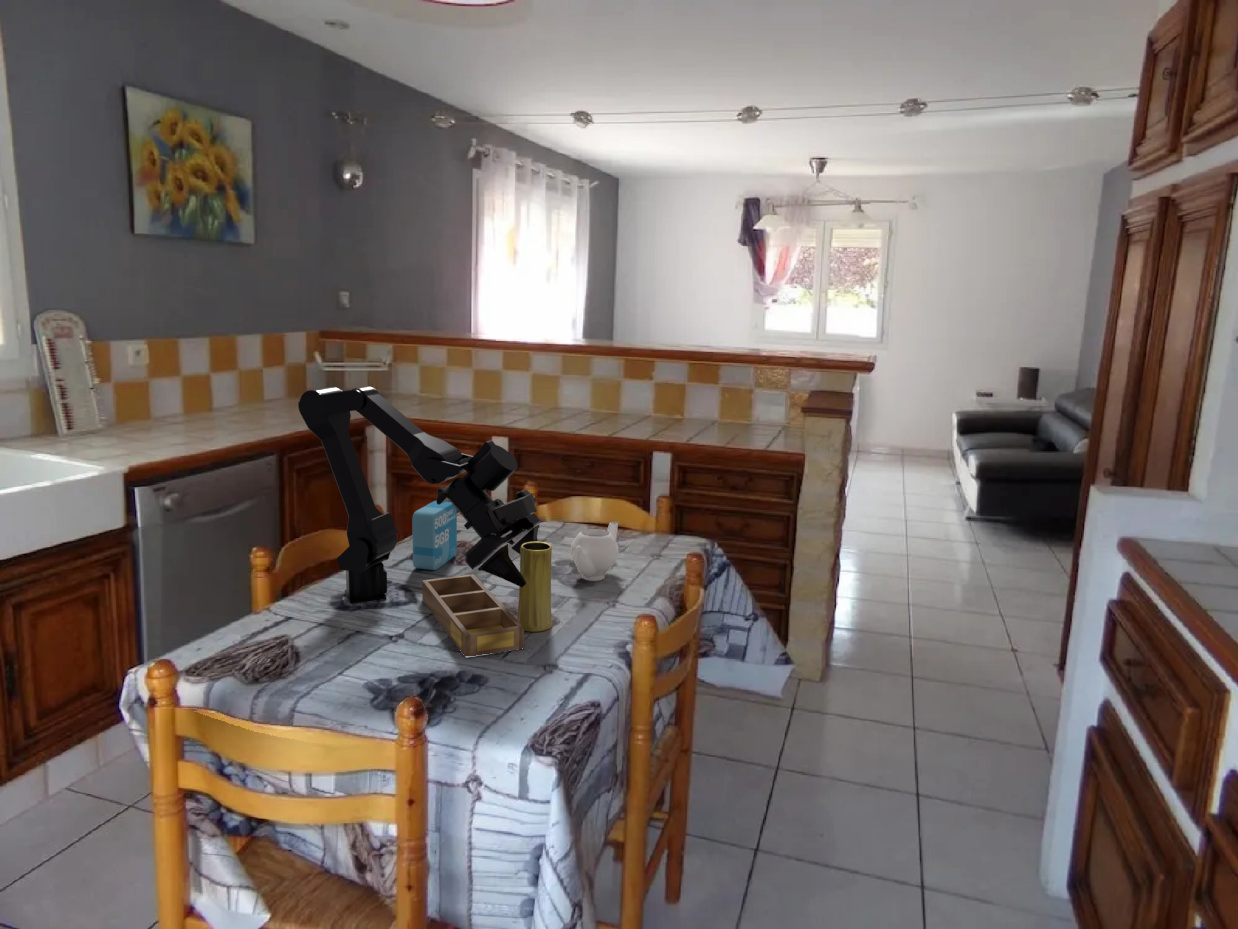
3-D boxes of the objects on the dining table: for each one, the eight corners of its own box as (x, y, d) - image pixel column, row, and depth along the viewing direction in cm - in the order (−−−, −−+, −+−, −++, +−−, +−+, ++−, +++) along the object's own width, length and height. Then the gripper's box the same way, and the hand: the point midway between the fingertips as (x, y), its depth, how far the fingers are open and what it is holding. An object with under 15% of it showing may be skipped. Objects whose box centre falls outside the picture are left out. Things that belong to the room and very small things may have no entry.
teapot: (549, 588, 167) (550, 541, 165) (593, 559, 185) (595, 518, 183) (593, 596, 163) (595, 549, 161) (634, 567, 181) (636, 524, 179)
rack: (464, 659, 134) (464, 636, 134) (421, 600, 158) (421, 580, 158) (524, 649, 139) (524, 627, 138) (473, 593, 163) (473, 574, 162)
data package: (433, 572, 173) (432, 514, 171) (412, 570, 174) (411, 512, 172) (457, 555, 185) (457, 500, 182) (437, 553, 186) (437, 498, 183)
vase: (534, 616, 153) (536, 538, 150) (559, 625, 149) (561, 546, 146) (509, 625, 148) (510, 545, 145) (534, 635, 145) (536, 553, 142)
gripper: (481, 489, 137) (545, 565, 135) (530, 467, 154) (587, 534, 153) (438, 532, 141) (499, 605, 139) (490, 505, 158) (545, 571, 157)
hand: (535, 577), depth 147 cm, fingers open, 9 cm apart
